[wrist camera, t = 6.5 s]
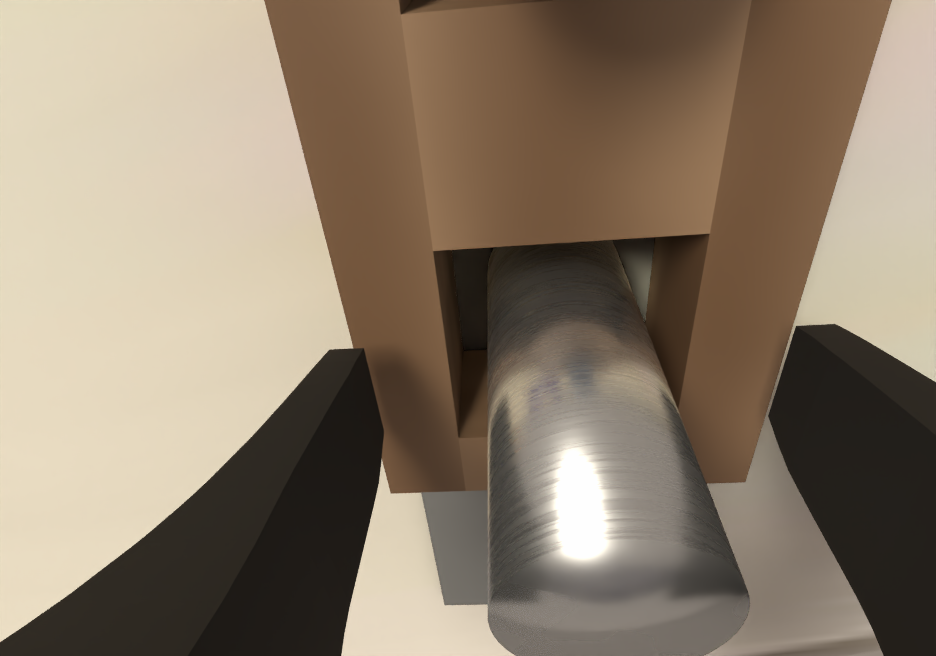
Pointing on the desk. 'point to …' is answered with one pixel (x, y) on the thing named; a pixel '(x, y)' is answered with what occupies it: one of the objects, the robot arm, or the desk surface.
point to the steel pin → (593, 472)
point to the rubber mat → (460, 544)
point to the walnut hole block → (573, 184)
